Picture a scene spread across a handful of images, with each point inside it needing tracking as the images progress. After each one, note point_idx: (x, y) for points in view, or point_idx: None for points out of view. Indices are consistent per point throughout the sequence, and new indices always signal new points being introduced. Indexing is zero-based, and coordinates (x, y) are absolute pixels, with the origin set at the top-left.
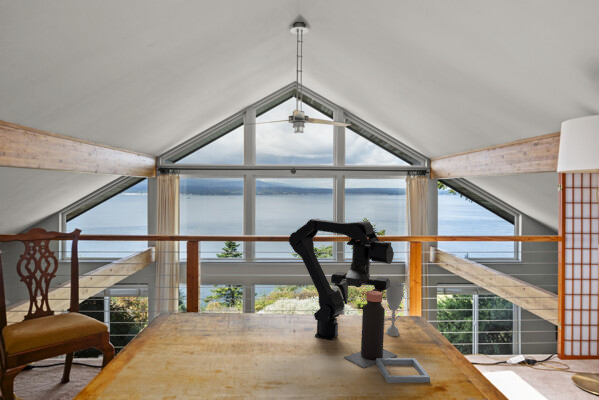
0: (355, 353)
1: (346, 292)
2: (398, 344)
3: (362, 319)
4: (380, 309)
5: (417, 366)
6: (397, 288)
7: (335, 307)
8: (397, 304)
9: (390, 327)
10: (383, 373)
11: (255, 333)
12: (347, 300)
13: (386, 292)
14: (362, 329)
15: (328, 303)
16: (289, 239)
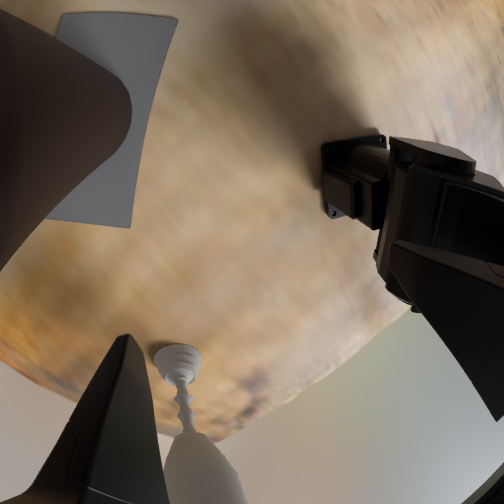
0: (153, 81)
1: (467, 322)
2: (99, 308)
3: (53, 38)
4: None
5: None
6: None
7: (426, 190)
8: (167, 458)
9: (182, 371)
10: None
11: (477, 70)
12: (403, 286)
13: (233, 490)
14: (76, 51)
15: (473, 177)
16: None
